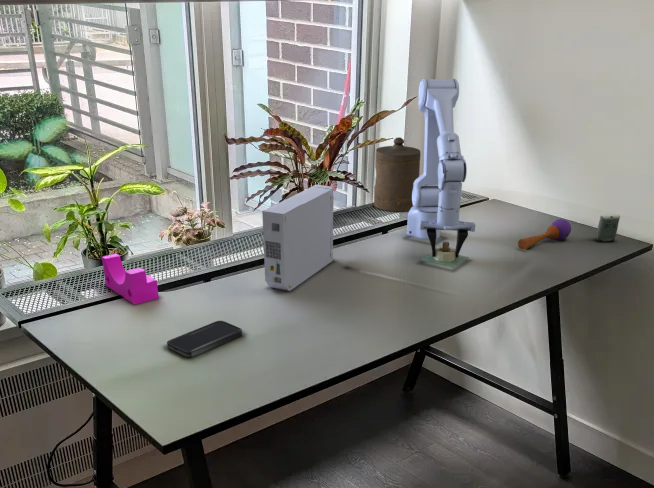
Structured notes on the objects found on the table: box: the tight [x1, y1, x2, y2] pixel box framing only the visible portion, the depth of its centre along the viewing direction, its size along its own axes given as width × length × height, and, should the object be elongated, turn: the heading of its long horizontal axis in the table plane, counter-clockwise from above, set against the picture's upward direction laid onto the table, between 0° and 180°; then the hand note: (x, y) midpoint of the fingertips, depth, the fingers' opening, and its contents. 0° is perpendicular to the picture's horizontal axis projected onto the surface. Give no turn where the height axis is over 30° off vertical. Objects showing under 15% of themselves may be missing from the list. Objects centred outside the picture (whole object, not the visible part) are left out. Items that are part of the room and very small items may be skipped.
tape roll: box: [434, 245, 456, 262], centre depth 198 cm, size 6×6×2 cm
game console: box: [261, 184, 334, 292], centre depth 184 cm, size 6×27×20 cm, turn 155°
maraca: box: [517, 218, 572, 251], centre depth 213 cm, size 6×6×20 cm
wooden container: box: [373, 136, 421, 212], centre depth 241 cm, size 15×15×22 cm
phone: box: [166, 320, 243, 358], centre depth 154 cm, size 8×1×15 cm
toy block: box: [101, 253, 160, 305], centre depth 175 cm, size 15×6×8 cm, turn 41°
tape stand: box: [420, 241, 470, 269], centre depth 198 cm, size 10×10×6 cm
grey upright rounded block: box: [596, 213, 621, 243], centre depth 215 cm, size 6×5×8 cm
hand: (444, 256), depth 198 cm, fingers closed on tape roll, 5 cm apart
